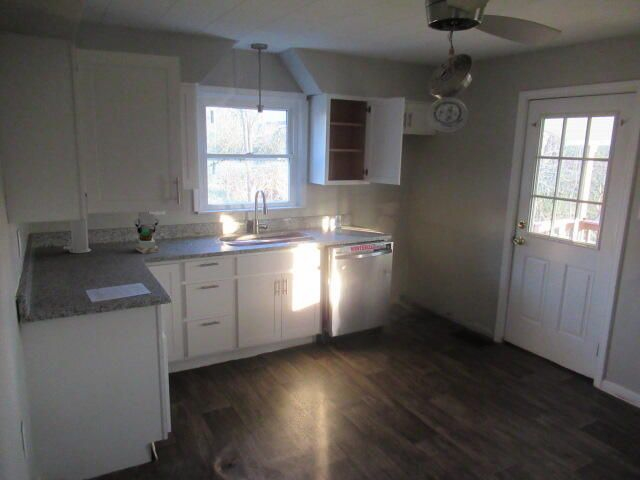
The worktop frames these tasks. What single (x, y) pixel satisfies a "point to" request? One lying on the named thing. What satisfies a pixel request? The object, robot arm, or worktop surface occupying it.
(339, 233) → the worktop surface
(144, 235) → the food container
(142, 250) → the base slab
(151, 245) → the top slab
